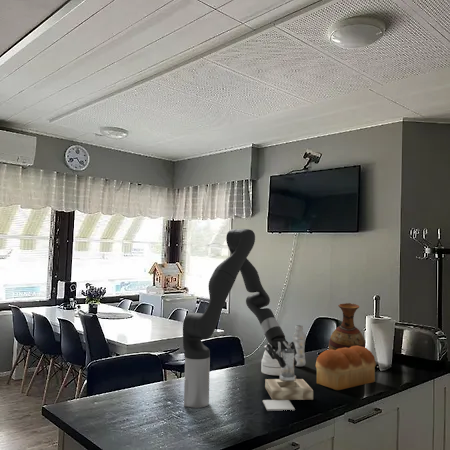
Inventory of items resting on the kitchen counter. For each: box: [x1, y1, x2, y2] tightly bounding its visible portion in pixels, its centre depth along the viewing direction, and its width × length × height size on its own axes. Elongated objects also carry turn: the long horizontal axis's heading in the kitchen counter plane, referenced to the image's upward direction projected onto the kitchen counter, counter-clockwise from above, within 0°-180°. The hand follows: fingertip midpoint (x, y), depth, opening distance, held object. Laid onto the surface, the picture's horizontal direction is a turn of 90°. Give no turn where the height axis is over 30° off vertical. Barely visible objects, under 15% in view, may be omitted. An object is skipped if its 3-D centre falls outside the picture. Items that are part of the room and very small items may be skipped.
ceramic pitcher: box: [328, 302, 366, 350], centre depth 248 cm, size 20×20×30 cm
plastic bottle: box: [292, 324, 307, 368], centre depth 230 cm, size 6×7×20 cm
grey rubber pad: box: [262, 399, 296, 412], centre depth 169 cm, size 10×10×1 cm
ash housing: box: [264, 378, 314, 401], centre depth 185 cm, size 16×16×4 cm
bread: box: [315, 346, 377, 391], centre depth 202 cm, size 25×12×15 cm, turn 125°
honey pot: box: [261, 343, 282, 376], centre depth 219 cm, size 13×13×18 cm
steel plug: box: [279, 348, 297, 382], centre depth 185 cm, size 7×7×12 cm
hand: (289, 365), depth 184 cm, fingers closed on steel plug, 5 cm apart
